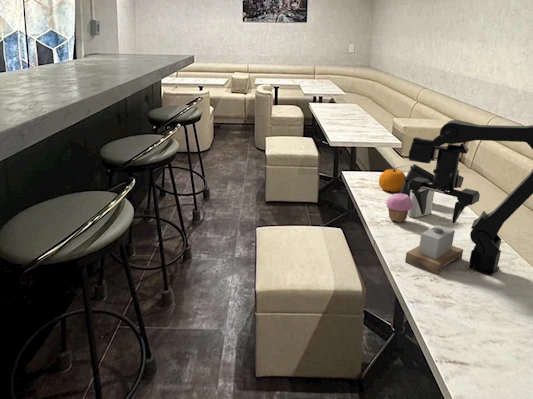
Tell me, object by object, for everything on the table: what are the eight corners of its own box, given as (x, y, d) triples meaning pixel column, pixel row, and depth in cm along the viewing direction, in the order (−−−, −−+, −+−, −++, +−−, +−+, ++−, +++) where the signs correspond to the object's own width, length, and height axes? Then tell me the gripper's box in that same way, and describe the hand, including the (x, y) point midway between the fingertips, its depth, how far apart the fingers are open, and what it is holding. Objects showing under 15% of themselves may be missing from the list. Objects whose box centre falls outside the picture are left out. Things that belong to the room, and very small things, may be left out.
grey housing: (435, 258, 131) (439, 237, 128) (418, 252, 134) (421, 231, 132) (451, 249, 137) (455, 228, 135) (434, 243, 141) (438, 223, 139)
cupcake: (413, 220, 167) (417, 193, 164) (405, 227, 160) (409, 199, 157) (389, 214, 172) (392, 188, 168) (380, 221, 165) (383, 194, 162)
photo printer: (423, 210, 177) (428, 179, 173) (432, 214, 174) (437, 182, 170) (404, 215, 172) (409, 183, 168) (414, 219, 168) (419, 186, 164)
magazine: (391, 194, 189) (412, 163, 184) (420, 209, 189) (441, 179, 184) (392, 197, 186) (414, 165, 180) (421, 213, 186) (443, 181, 181)
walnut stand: (461, 258, 138) (463, 249, 137) (437, 274, 128) (439, 264, 127) (430, 247, 145) (431, 238, 144) (405, 262, 135) (406, 252, 134)
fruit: (376, 191, 197) (379, 169, 194) (379, 184, 208) (381, 162, 204) (405, 195, 194) (408, 172, 190) (406, 187, 204) (409, 165, 201)
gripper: (492, 168, 129) (481, 220, 135) (428, 155, 142) (420, 204, 147) (476, 175, 122) (465, 230, 127) (410, 161, 134) (403, 212, 139)
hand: (438, 218), depth 135 cm, fingers open, 9 cm apart
